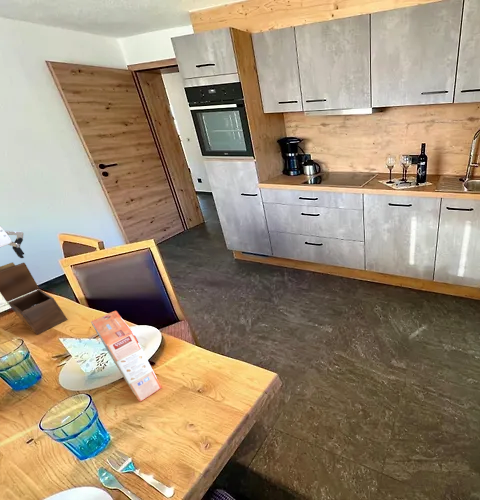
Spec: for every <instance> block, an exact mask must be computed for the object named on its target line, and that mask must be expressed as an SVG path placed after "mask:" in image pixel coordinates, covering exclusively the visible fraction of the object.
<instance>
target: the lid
mask: <svg viewBox="0 0 480 500" xmlns="http://www.w3.org/2000/svg"><path fill="white" fill-rule="evenodd" d="M39 289H40V287H39V286H38V283H37V282H36V280H35V278H34V277H33V275H32V273H31V271H30V270H29V268H28V266H27V265H26V262H21V263H18V264H15V263H14V262H9V263H6V264H3V265H1V266H0V294H1V296H2V297H3V299H4V300H5V302H7V303H8V302H10V301H12V300H15V299H17V298H20V297H22V296H25V295H27V294H29V293H32V292H34V291H37V290H39Z"/></svg>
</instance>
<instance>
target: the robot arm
mask: <svg viewBox="0 0 480 500" xmlns="http://www.w3.org/2000/svg"><path fill="white" fill-rule="evenodd" d="M10 236H16V238H15V239H14V241H12V239H11V237H10ZM23 241H24V232H23V231H21V230H17V231H16V230H15V231H14V230H5V229H4V228H3V227H2V226H1V225H0V248H2V247H3V248H4V247H5V246H11V247H12V248H11V249H12V250H13V251H14V252H15V254H16V255H17V257H18V258H20V259H25V256H24V255H25V252H24V251H23V250H22V248H21V244H22V243H23Z"/></svg>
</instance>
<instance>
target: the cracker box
mask: <svg viewBox="0 0 480 500" xmlns="http://www.w3.org/2000/svg"><path fill="white" fill-rule="evenodd" d="M90 323H91V325H92V326H93V328H94V330H95V332H96V334H97V336H98V337H99V339H100V341H101V343H102V344H103V346H104V347H105V349H106V351H107V352H108V354H109V356H110V357H111V359H112V361H113V362H114V364H115V366H116V368H117V369H118V371H119V372H120V375H121V376H122V378H123V379H124V381H125V382H126V385H128V387H129V389H130V390H131V392H132V394H133V395H134V396H135V398H136V399H137V401H138V403H141V402H142V401H144V400H146V399H147V398H149V397H150V396H152V395H153V394H155V393H156V392H158V391H159V390H161V389H162V385H161V383H160V381H159V379H158V378H157V376H156V374H155V371H154V370H153V368H152V366H151V364H150V362H149V360H148V358H147V356H146V354H145V352H144V350H143V348H142V347H141V344H140V343H139V340H138V339H137V336H136V334H135V333H134V331H133V330H132V329H131V327H130V326H129V325H128V324H127V322H126V321H125V320H124V319H123V318H122V316H121V315H120V313H119V312H118V311H117V310H114V311H111V312H108V313H106V314H105V315H103V316H100V317H98V318H96V319H93V320H91V321H90Z"/></svg>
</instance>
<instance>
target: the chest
mask: <svg viewBox="0 0 480 500" xmlns="http://www.w3.org/2000/svg"><path fill="white" fill-rule="evenodd" d="M7 304H8V306H9V307H10V308H11V310H12V311H13V312H14V313H15V314H16V316H17V317H18V318H19V320H20V321H21V322H22V324H23V325H24V326H25V327H27V328H28V329H29V330H30V331H31V332H33V333H34V334H35V335H37V336H39V335H40V334H42V333H44V332H46V331H48V330H50V329H52V328H54V327H56V326H58V325H60V324H62V323H64V322H67V321H68V317H67V316H66V314H65V313H64V311H63V310H62V309H61V307H60V306H59V304H58V302H57V301H56V300H55V299H54V297H53V296H51V295H50V294H48V293H47V292H45V291H43V290H41V289H40V288H39V289H38V290H35V291H33V292H30V293H28V294H25V295H23V296H21V297H18V298H16V299H13V300H11V301H9V302H7ZM34 305H35V306H34ZM32 306H33V307H32Z"/></svg>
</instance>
